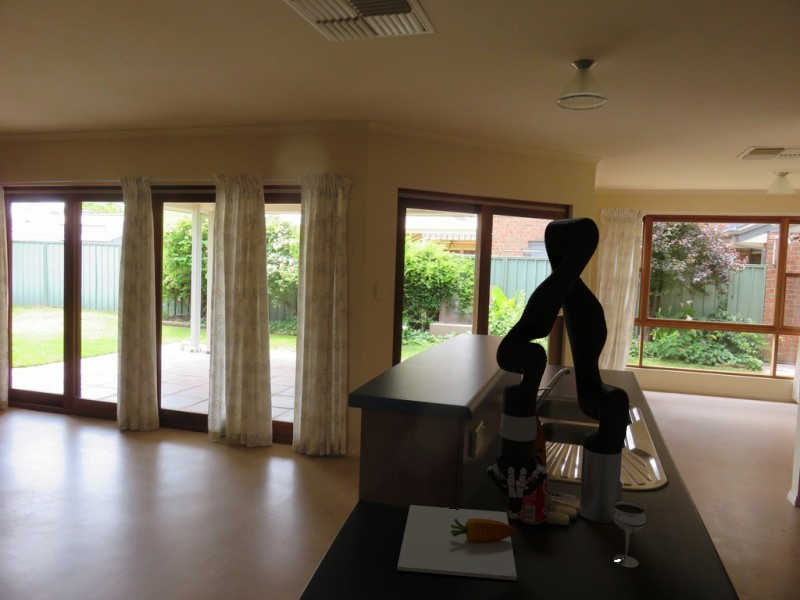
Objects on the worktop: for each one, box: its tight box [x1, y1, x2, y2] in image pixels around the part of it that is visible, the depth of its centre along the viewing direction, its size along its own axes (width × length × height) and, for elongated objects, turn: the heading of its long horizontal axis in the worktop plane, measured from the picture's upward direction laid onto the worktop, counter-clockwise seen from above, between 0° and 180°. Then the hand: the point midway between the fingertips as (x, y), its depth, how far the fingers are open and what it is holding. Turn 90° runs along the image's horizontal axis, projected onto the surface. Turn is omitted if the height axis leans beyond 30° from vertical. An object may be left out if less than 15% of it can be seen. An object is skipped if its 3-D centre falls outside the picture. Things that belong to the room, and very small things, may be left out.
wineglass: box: [612, 499, 647, 568], centre depth 122 cm, size 7×7×12 cm
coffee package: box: [500, 411, 548, 487], centre depth 160 cm, size 10×12×22 cm
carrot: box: [451, 518, 517, 542], centre depth 127 cm, size 5×5×15 cm
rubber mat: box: [396, 504, 518, 581], centre depth 129 cm, size 24×28×1 cm
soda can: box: [516, 464, 549, 526], centre depth 139 cm, size 7×7×13 cm
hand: (514, 511), depth 123 cm, fingers closed
